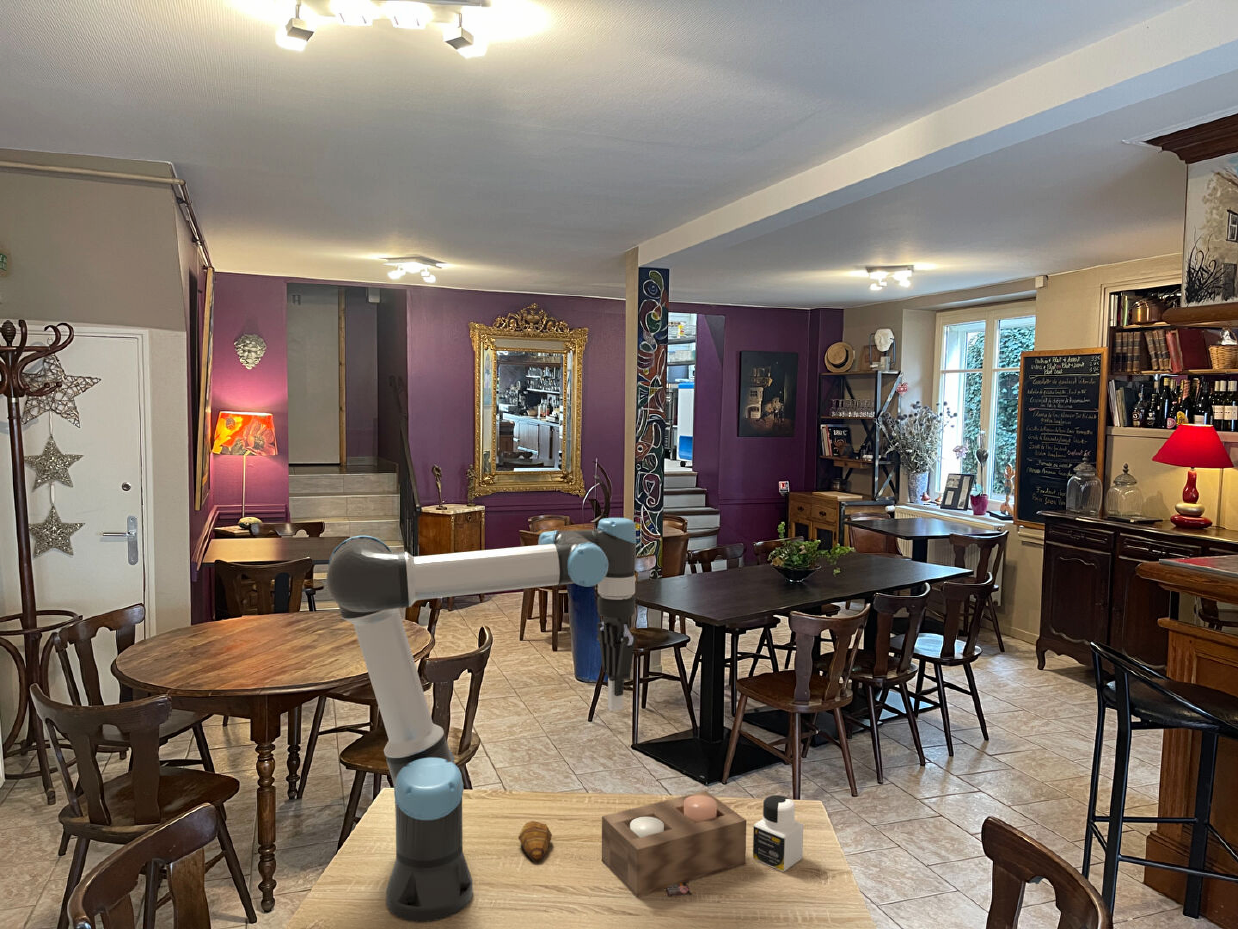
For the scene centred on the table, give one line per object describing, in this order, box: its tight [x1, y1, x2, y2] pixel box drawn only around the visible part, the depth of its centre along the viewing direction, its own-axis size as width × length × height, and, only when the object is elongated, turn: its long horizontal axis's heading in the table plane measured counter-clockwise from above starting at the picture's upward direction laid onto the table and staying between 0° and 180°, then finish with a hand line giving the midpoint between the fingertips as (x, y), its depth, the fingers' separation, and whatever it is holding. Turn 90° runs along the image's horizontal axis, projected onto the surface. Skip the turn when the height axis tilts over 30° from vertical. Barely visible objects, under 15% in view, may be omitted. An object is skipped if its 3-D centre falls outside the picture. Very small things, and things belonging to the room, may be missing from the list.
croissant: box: [517, 820, 553, 863], centre depth 175 cm, size 14×7×5 cm, turn 10°
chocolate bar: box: [664, 882, 693, 898], centre depth 163 cm, size 11×5×1 cm, turn 11°
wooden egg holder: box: [601, 790, 747, 898], centre depth 169 cm, size 24×14×9 cm, turn 118°
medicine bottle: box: [752, 794, 804, 873], centre depth 171 cm, size 7×7×12 cm
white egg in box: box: [630, 817, 664, 837], centre depth 166 cm, size 6×6×8 cm
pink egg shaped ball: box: [684, 795, 717, 823], centre depth 172 cm, size 6×6×8 cm
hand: (615, 709), depth 178 cm, fingers closed
